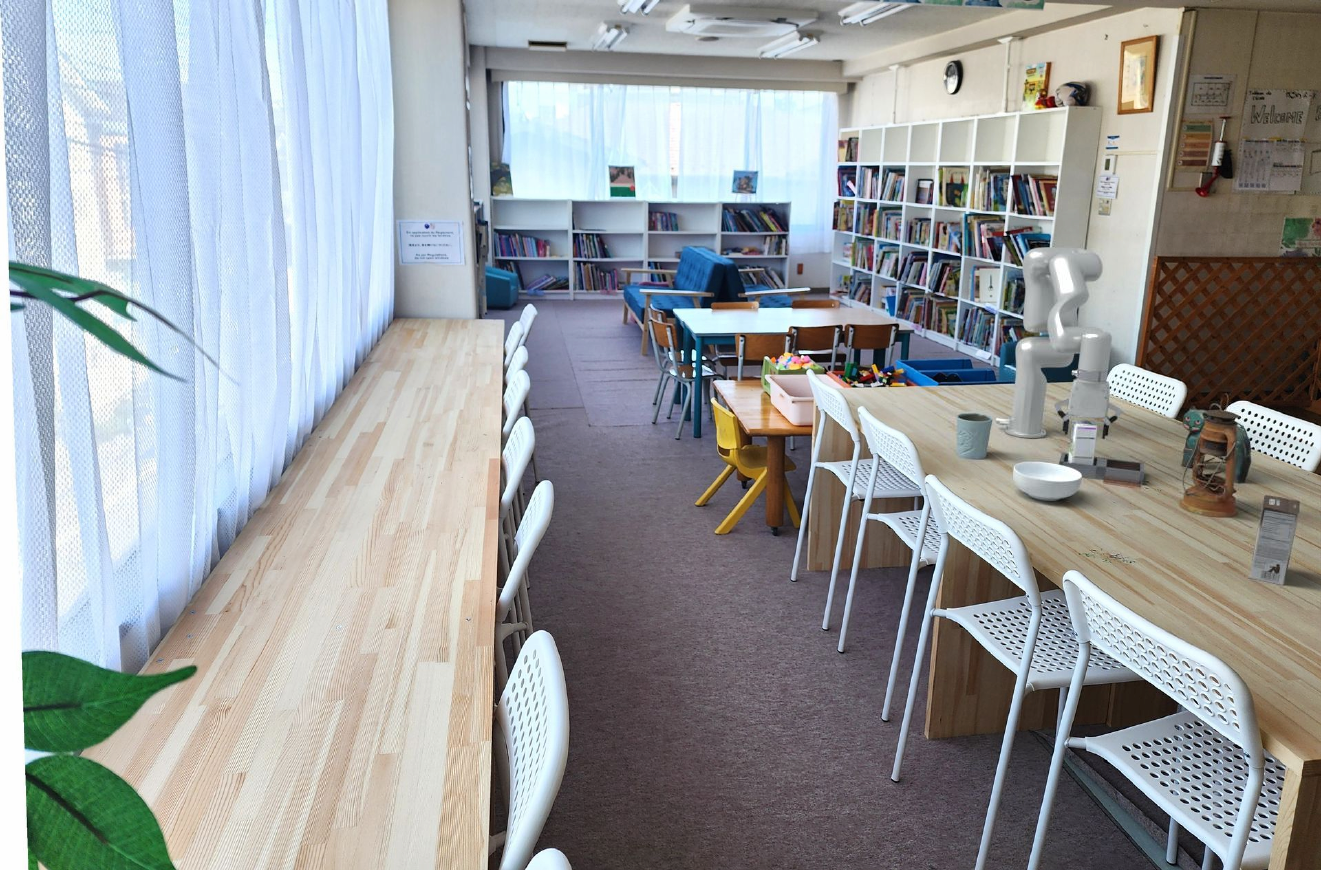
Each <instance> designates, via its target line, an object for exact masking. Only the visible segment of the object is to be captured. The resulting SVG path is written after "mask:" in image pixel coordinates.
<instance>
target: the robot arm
mask: <svg viewBox="0 0 1321 870" xmlns="http://www.w3.org/2000/svg"><path fill="white" fill-rule="evenodd" d="M1102 274H1103V263H1102V259H1101V258H1100V256H1099V255H1098V254H1097V253H1095V252H1093V251H1090V250H1088V249H1086V248H1082V247H1051V246H1050V247H1047V246H1046V247H1036V248H1032V249H1030V250H1028V251H1027V252H1026V253H1025V254H1024V257H1023V261H1022V275H1023V280H1024V283H1025V284H1024V286H1025V293H1024V307H1023V318H1022V319H1023V320H1022V322H1023V323H1022V324H1023V327H1024V331H1027V332H1029V333H1036V334H1037V333H1038V334H1045V333H1046V334H1048V337H1047V336H1031V337H1030V336H1029V337H1024V338H1022V339H1020V340H1019V341H1018V342H1017V344H1016V346H1015V369H1016V370H1015V381H1014V391H1013V399H1012V408H1011V416H1010V417H1007V418H1003V417H1002V418H1001V417H997V418H996V424H998V425H999V426H1005V428H1004V432H1005V433H1006V434H1008V435H1010V436H1013V437H1017V438H1018V437H1019V438H1025V439H1041V438H1044V437H1046V436H1047V431H1046V430H1045V428H1043V419H1044V410H1045V403H1046V393H1047V388H1048V387H1047V385H1048V381H1047V378H1046V376H1045V374H1044V373H1043V371H1042V368H1066V367H1068V366H1070V365H1071V363H1073V361H1074V356H1075V354H1077V355H1078V354H1079V359H1078V367H1077V369H1075V370H1072V371H1071V375H1072V376H1074V377H1076V378H1075V379H1073V381H1072V384H1071V388H1070V393H1069V398H1068V399H1065V400H1062V401H1058V402H1056V403H1055V404H1054V407H1055V410H1056V413H1057V414H1058V416H1059V417H1060V418H1061V419H1062V421H1063V422H1062V430H1061V431H1062V432H1064V436H1067V435H1068V434H1069V426H1070V418H1071V417H1081V418H1089V419H1090V418H1091V419H1102V420H1103V422H1104V423H1103V428H1102V435H1101V436H1102V437H1101V439H1102V440H1105V438H1106V437H1109V429H1110V426H1111V424H1112V423H1115V422H1116V421H1117V420H1118V418H1119V417H1120V416H1121V415H1122V413H1123V409H1122V408H1120V407H1118V406H1116V405H1115V404H1113V403H1111V402H1110V396H1111V395H1110V389H1111V388H1110V383H1109V381H1108V380H1107V379H1108V373H1109V372H1108V371H1109V367H1110V365H1109V364H1110V357H1111V348H1112V340H1113V337H1112V335H1111V333H1109V332H1107V331H1104V330H1103V329H1101V328H1099V327H1095V326H1078V313H1077V310H1076V309H1079V308H1080V307H1081V306H1083V305H1084V304H1086V303H1087V302H1088V300H1089V297H1090V294H1089V291H1088V286H1087V283H1086V282H1088V283H1089V282H1096V281H1097V280H1099V279H1100V277H1102ZM1049 276H1050V277H1049ZM1055 298H1056V301H1057V302H1055V300H1054V299H1055ZM1063 406H1067V412H1066V413H1065V412H1064V411H1063V410H1062V407H1063ZM1109 409H1110V410H1112V411H1113V412H1115V413H1114V415H1112V416H1111V417H1109V416H1108V414H1109Z"/></svg>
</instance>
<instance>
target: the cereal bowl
mask: <svg viewBox="0 0 1321 870" xmlns="http://www.w3.org/2000/svg"><path fill="white" fill-rule="evenodd" d="M1082 478H1083V477H1082V475H1081V473H1080V472H1078V471H1077V470H1075V469H1072V468H1069V467H1066V466H1062V465H1059V463H1058V464H1057V463H1050V462H1045V461H1044V462H1043V461H1042V462H1041V461H1022V462H1019V463H1016V464H1014V466H1013V471H1012V479H1013V482H1014V484H1015V485H1016V487H1017V488H1018V489H1019V490H1021V491H1022V492H1024V493H1025V494H1027V495H1028V497H1030V498H1033V499H1036V500H1040V501H1045V502H1047V501H1050V502H1051V501H1052V502H1053V501H1054V502H1055V501H1058V500H1060V499H1065V498H1068V497H1070V496H1073V495H1074V494H1076V493H1077V492H1078V491H1079V489H1080V486H1081V484H1082Z"/></svg>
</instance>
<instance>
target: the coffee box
mask: <svg viewBox="0 0 1321 870" xmlns="http://www.w3.org/2000/svg"><path fill="white" fill-rule="evenodd" d="M1300 505H1301V504H1300V500H1296V499H1290V498H1285V497H1281V496H1275V495H1274V496H1273V495H1269V494H1265V495H1264V499H1263V503H1262V507H1261V512H1260V517H1259V522H1258V525H1257V527H1258V528H1257V532H1256V537H1255V543H1254V548H1253V553H1252V554H1253V555H1252V559H1251V561H1252V562H1251V568H1250V574H1249V578H1250V579H1252V580H1258V581H1260V582H1261V581H1262V582H1267V583H1271V584H1276V585H1281V586H1284V585H1285V582H1286V577H1287V573H1288V568H1289V564H1290V559H1291V553H1292V549H1293V543H1294V540H1295V535H1296V530H1297V525H1298V521H1299V515H1300Z"/></svg>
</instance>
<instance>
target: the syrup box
mask: <svg viewBox="0 0 1321 870" xmlns="http://www.w3.org/2000/svg"><path fill="white" fill-rule="evenodd" d="M1071 422H1072V423H1071V431H1070V440H1069V450H1068V453H1069V456H1068V462H1070V463H1078V464H1086V465H1093V461H1094V457H1095V451H1096V445H1097V443H1096V442H1097V441H1096V440H1097V433H1098V425H1097V424H1096V423H1095V422H1094V421H1093V420H1086V419H1085V420H1084V419H1073V420H1072V421H1071Z"/></svg>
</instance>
